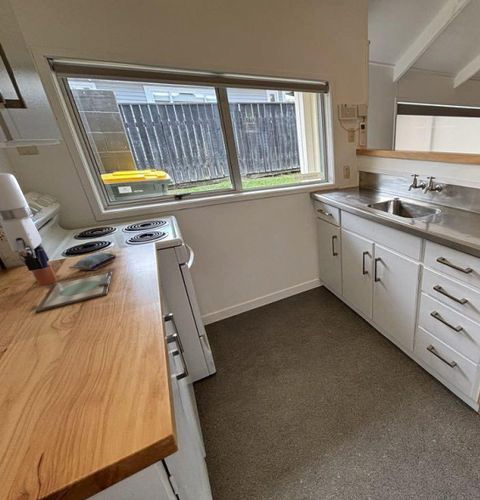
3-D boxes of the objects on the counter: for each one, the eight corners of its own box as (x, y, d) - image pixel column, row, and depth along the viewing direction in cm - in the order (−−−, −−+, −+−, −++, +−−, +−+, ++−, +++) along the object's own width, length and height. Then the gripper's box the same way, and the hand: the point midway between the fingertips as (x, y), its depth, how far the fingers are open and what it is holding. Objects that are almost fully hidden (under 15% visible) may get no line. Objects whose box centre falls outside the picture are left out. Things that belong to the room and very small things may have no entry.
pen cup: (37, 287, 95) (29, 271, 92) (41, 282, 98) (33, 267, 96) (56, 283, 97) (48, 268, 95) (59, 278, 100) (51, 263, 98)
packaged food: (71, 273, 104) (65, 261, 102) (100, 260, 115) (95, 249, 113) (92, 274, 103) (87, 261, 101) (119, 260, 114) (115, 249, 112)
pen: (44, 283, 96) (36, 250, 93) (45, 281, 98) (38, 249, 94) (51, 282, 97) (43, 250, 94) (52, 280, 98) (44, 249, 95)
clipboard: (35, 313, 80) (33, 309, 79) (53, 285, 95) (51, 282, 95) (107, 295, 88) (105, 291, 88) (112, 272, 104) (111, 269, 103)
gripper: (7, 211, 93) (32, 260, 100) (-16, 222, 80) (14, 278, 86) (38, 207, 97) (60, 255, 104) (21, 217, 83) (48, 271, 90)
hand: (39, 265), depth 95 cm, fingers open, 6 cm apart
